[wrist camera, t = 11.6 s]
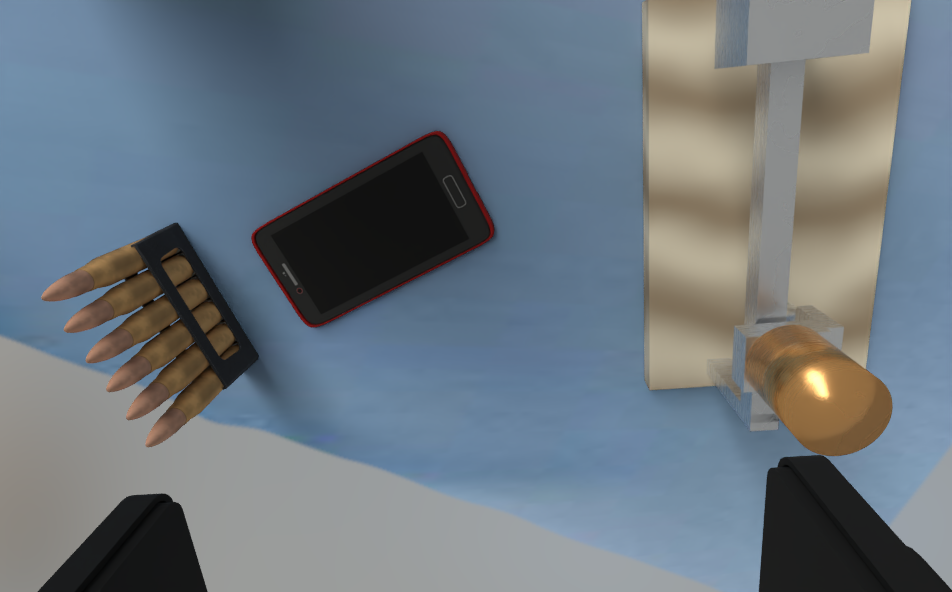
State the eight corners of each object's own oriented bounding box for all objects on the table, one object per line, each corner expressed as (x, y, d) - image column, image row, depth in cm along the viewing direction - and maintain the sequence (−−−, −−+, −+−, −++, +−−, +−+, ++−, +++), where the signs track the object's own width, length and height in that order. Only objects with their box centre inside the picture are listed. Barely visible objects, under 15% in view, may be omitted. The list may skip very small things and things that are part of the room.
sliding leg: (691, 276, 37) (795, 373, 24) (781, 269, 37) (934, 364, 24) (690, 335, 38) (788, 458, 25) (776, 329, 38) (920, 451, 25)
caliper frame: (685, -6, 33) (751, -41, 24) (796, -18, 32) (904, -58, 24) (680, 374, 40) (729, 451, 31) (770, 368, 39) (845, 444, 31)
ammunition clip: (260, 357, 42) (172, 454, 31) (238, 367, 43) (142, 466, 31) (177, 221, 39) (45, 273, 28) (154, 233, 40) (14, 288, 28)
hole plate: (642, 2, 34) (648, -2, 33) (897, -26, 33) (916, -31, 32) (644, 380, 42) (649, 390, 40) (852, 366, 41) (865, 376, 39)
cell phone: (499, 233, 39) (499, 236, 38) (312, 328, 42) (308, 333, 41) (442, 124, 37) (441, 125, 36) (250, 231, 40) (244, 235, 39)
